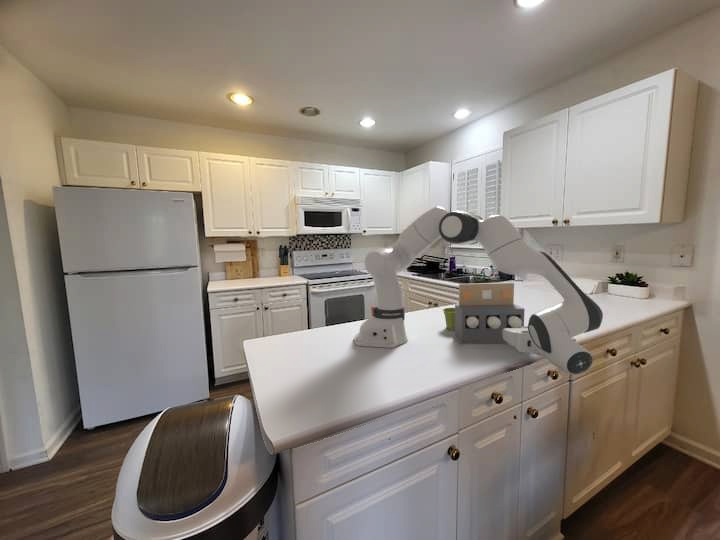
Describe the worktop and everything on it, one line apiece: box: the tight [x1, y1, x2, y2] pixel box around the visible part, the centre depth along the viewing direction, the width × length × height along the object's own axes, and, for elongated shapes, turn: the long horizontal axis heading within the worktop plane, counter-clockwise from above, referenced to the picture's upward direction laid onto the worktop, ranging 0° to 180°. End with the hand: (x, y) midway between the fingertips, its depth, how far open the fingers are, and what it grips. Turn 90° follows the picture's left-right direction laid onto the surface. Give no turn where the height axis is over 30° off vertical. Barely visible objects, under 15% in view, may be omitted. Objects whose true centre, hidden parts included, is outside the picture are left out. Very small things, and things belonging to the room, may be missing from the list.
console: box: [454, 282, 525, 345], centre depth 121 cm, size 24×10×23 cm, turn 88°
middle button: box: [486, 315, 501, 329], centre depth 116 cm, size 4×4×4 cm
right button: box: [507, 315, 522, 328], centre depth 115 cm, size 4×4×4 cm
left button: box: [465, 315, 479, 328], centre depth 117 cm, size 4×4×4 cm
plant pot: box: [442, 307, 455, 331], centre depth 137 cm, size 9×9×9 cm
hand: (523, 328), depth 108 cm, fingers closed
